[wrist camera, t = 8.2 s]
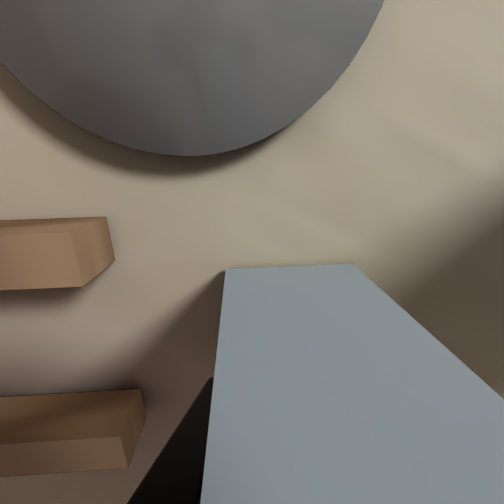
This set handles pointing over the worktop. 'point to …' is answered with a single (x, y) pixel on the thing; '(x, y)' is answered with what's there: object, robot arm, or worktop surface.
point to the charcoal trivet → (182, 65)
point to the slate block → (342, 399)
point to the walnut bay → (68, 404)
